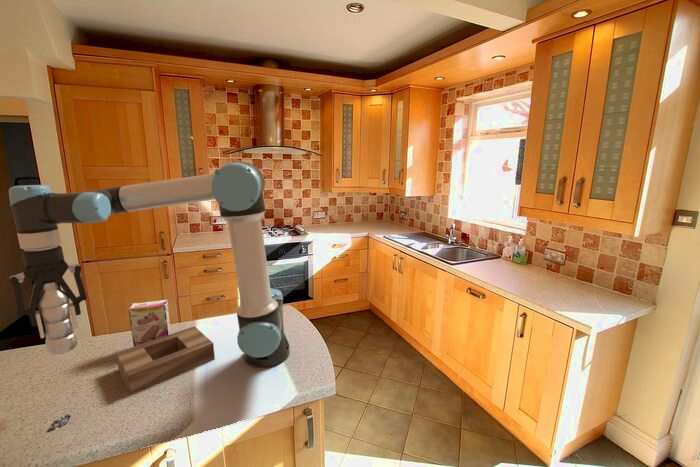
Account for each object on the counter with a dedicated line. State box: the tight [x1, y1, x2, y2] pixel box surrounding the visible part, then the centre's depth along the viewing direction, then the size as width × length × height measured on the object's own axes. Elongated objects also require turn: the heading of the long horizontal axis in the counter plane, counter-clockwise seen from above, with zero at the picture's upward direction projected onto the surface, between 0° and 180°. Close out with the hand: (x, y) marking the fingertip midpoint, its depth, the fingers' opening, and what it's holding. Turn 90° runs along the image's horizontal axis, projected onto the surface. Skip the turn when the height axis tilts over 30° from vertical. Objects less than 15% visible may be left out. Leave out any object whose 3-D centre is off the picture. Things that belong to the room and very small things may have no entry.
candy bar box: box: [128, 299, 172, 347], centre depth 116 cm, size 11×5×16 cm, turn 111°
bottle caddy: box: [115, 326, 216, 395], centre depth 107 cm, size 16×24×6 cm, turn 136°
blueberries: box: [46, 413, 72, 433], centre depth 83 cm, size 7×8×2 cm
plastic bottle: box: [36, 281, 79, 356], centre depth 87 cm, size 6×7×20 cm
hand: (59, 331), depth 88 cm, fingers closed on plastic bottle, 6 cm apart
